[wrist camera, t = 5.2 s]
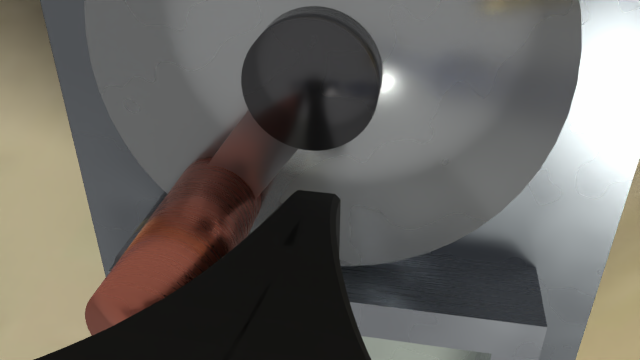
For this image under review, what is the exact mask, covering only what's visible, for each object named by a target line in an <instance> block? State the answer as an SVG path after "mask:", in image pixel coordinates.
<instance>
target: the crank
mask: <svg viewBox="0 0 640 360" xmlns="http://www.w3.org/2000/svg"><path fill="white" fill-rule="evenodd" d="M84 9H85V30H86V38H87V44H88V50H89V56H90V62H91V66H92V69H93V72H94V76H95V79H96V82H97V86H98V89H99V92H100V94H101V97H102V99H103V101H104V104H105V106H106V109H107V111H108V113H109V116H110V118H111V120H112V121H113V123H114V125H115V127H116V129H117V130H118V132H119V134H120V136H121V137H122V139H123V141H124V143H125V144H126V145H127V147H128V148H129V150H130V151H131V153H132V154H133V155H134V157H135V158H136V160H137V161H138V162H139V164H140V165H141V166H142V167H143V169H144V170H145V171H146V172H147V173H148V174H149V175H150V176H151V178H152V179H153V180H154V181H155V182H156V183H157V184H158V186H159V187H161V188H162V189H163V190H164V191H165V192H166V193H167V195H166V197H165V198H164V200H163V201H162V202H161V204H160V205H159V206H158V208H157V209H156V210H155V212H154V213H153V214H152V216H151V217H150V219H149V220H148V221H147V223H146V224H145V225H144V227H143V228H142V229H141V231H140V232H139V233H138V235H137V236H136V238H135V239H134V240H133V242H132V243H131V244H130V246H129V247H128V248H127V250H126V251H125V252H124V254H123V255H122V256H121V258H120V259H119V261H118V262H117V263H116V265H115V266H114V267H113V269H112V270H111V271H110V273H109V274H108V275H107V277H106V278H105V280H104V281H103V282H102V284H101V285H100V286H99V288H98V289H97V290H96V292H95V293H94V294H93V296H92V297H91V299H90V300H89V302H88V303H87V306H86V310H85V319H86V323H87V326H88V329H89V331H90V333H91V335H95V334H97V333H99V332H101V331H103V330H105V329H107V328H110V327H112V326H114V325H116V324H117V323H119V322H121V321H123V320H125V319H127V318H129V317H130V316H132V315H134V314H136V313H138V312H140V311H142V310H144V309H145V308H147V307H149V306H151V305H153V304H155V303H157V302H158V301H160V300H162V299H163V298H165V297H167V296H168V295H170V294H171V293H173V292H174V291H176V290H178V289H179V288H181V287H182V286H184V285H186V284H187V283H189V282H190V281H191V280H193V279H194V278H196V277H197V276H198V275H200V274H201V273H203V272H204V271H205V270H207V269H208V268H209V267H210V266H212V265H213V264H214V263H215V262H217V261H218V260H219V259H221V258H222V257H223V256H224V255H226V254H227V253H228V252H229V251H231V250H232V249H233V248H234V247H236V246H237V245H238V244H239V243H240V242H241V241H242V240H244V239H245V238H246V237H247V236H248V235H249V234H250V233H251V232H253V231H254V230H255V229H256V228H257V227H258V226H259V225H260V224H261V223H263V222H264V221H265V220H266V219H267V218H268V217H269V216H270V215H271V214H272V213H273V212H274V211H275V210H276V209H277V208H278V207H279V206H280V205H281V204H282V203H283V202H284V201H285V200H287V199H288V198H289V197H290V196H291V195H292V194H293V193H294V192H296V191H297V190H303V191H313V192H323V193H332V194H336V195H337V196H338V197H339V198H340V199H341V207H340V247H339V258H340V265H341V266H362V265H377V264H383V263H389V262H395V261H400V260H405V259H408V258H412V257H415V256H419V255H422V254H426V253H429V252H431V251H434V250H436V249H438V248H441V247H443V246H446V245H448V244H450V243H453V242H455V241H457V240H458V239H460V238H462V237H464V236H465V235H467V234H469V233H471V232H473V231H474V230H476V229H478V228H479V227H481V226H482V225H483V224H485V223H486V222H487V221H489V220H490V219H491V218H493V217H494V216H496V215H497V214H498V213H500V212H501V211H502V210H503V209H504V208H505V207H506V206H507V205H508V204H509V203H510V202H511V201H512V200H514V199H515V198H516V197H517V196H518V195H519V194H520V193H521V192H522V191H523V189H524V188H525V187H526V186H527V185H528V183H529V182H530V181H531V180H532V178H533V177H534V176H535V175H536V173H537V172H538V171H539V170H540V168H541V167H542V165H543V163H544V162H545V160H546V159H547V157H548V155H549V154H550V152H551V150H552V149H553V147H554V145H555V144H556V142H557V140H558V137H559V135H560V133H561V130H562V128H563V126H564V124H565V121H566V119H567V117H568V114H569V111H570V108H571V104H572V100H573V97H574V93H575V90H576V86H577V82H578V75H579V67H580V59H581V52H582V26H581V9H580V3H579V0H84Z"/></svg>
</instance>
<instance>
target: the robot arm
mask: <svg viewBox="0 0 640 360" xmlns="http://www.w3.org/2000/svg"><path fill="white" fill-rule="evenodd" d="M340 207H341V199H340V198H339V197H338V196H337V195H336V194H332V193H323V192H313V191H303V190H297V191H296V192H294V193H293V194H292V195H291V196H290V197H289V198H288V199H287V200H285V201H284V202H283V203H282V204H281V205H280V206H279V207H278V208H277V209H276V210H275V211H274V212H273V213H272V214H271V215H270V216H269V217H268V218H267V219H266V220H265V221H264V222H263V223H261V224H260V225H259V226H258V227H257V228H256V229H255V230H254V231H253V232H251V233H250V234H249V235H248V236H247V237H246V238H245V239H244V240H242V241H241V242H240V243H239V244H238V245H237V246H236V247H234V248H233V249H232V250H231V251H229V252H228V253H227V254H226V255H224V256H223V257H222V258H221V259H219V260H218V261H217V262H215V263H214V264H213V265H212V266H210V267H209V268H208V269H207V270H205V271H204V272H203V273H201V274H200V275H198V276H197V277H196V278H194V279H193V280H191V281H190V282H189V283H187V284H186V285H184V286H182V287H181V288H179V289H178V290H176V291H174V292H173V293H171V294H170V295H168V296H167V297H165V298H163V299H162V300H160V301H158V302H157V303H155V304H153V305H151V306H149V307H147V308H145V309H144V310H142V311H140V312H138V313H136V314H134V315H132V316H130V317H129V318H127V319H125V320H123V321H121V322H119V323H117V324H116V325H114V326H112V327H110V328H107V329H105V330H103V331H101V332H99V333H97V334H95V335H92V336H90V337H88V338H86V339H84V340H81V341H79V342H77V343H74V344H72V345H70V346H67V347H65V348H62V349H60V350H58V351H55V352H53V353H50V354H48V355H45V356H43V357H40V358H37V359H34V360H371V358H370V356H369V353H368V351H367V349H366V346H365V344H364V341H363V339H362V336H361V334H360V331H359V329H358V326H357V323H356V320H355V317H354V314H353V311H352V308H351V305H350V302H349V298H348V295H347V291H346V287H345V283H344V279H343V274H342V270H341V265H340V258H339V247H340Z"/></svg>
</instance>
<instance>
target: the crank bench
mask: <svg viewBox="0 0 640 360" xmlns="http://www.w3.org/2000/svg"><path fill="white" fill-rule="evenodd" d="M40 2H41V6H42V10H43V15H44V19H45V23H46V27H47V31H48V36H49V40H50V44H51V48H52V52H53V57H54V61H55V65H56V69H57V73H58V78H59V82H60V86H61V90H62V94H63V99H64V103H65V107H66V111H67V116H68V120H69V124H70V128H71V132H72V137H73V141H74V145H75V149H76V153H77V158H78V162H79V166H80V170H81V174H82V179H83V183H84V187H85V191H86V195H87V200H88V204H89V208H90V212H91V216H92V221H93V225H94V229H95V233H96V237H97V242H98V246H99V250H100V254H101V259H102V263H103V267H104V271H105V275H106V277H107V275H108V274H109V273H110V271H111V270H112V269H113V267H114V266H115V265H116V263H117V262H118V261H119V259H120V258H121V256H122V255H123V254H124V252H125V251H126V250H127V248H128V247H129V246H130V244H131V243H132V242H133V240H134V239H135V238H136V236H137V235H138V233H139V232H140V231H141V229H142V228H143V227H144V225H145V224H146V223H147V221H148V220H149V219H150V217H151V216H152V214H153V213H154V212H155V210H156V209H157V208H158V206H159V205H160V204H161V202H162V201H163V200H164V198H165V197H166V195H167V193H166V192H165V191H164V190H163V189H162V188H161V187H159V186H158V184H157V183H156V182H155V181H154V180H153V179H152V178H151V176H150V175H149V174H148V173H147V172H146V171H145V170H144V169H143V167H142V166H141V165H140V164H139V162H138V161H137V160H136V158H135V157H134V155H133V154H132V153H131V151H130V150H129V148H128V147H127V145H126V144H125V143H124V141H123V139H122V137H121V136H120V134H119V132H118V130H117V129H116V127H115V125H114V123H113V121H112V120H111V118H110V116H109V113H108V111H107V109H106V106H105V104H104V101H103V99H102V97H101V94H100V92H99V89H98V86H97V82H96V79H95V76H94V72H93V69H92V66H91V62H90V56H89V50H88V44H87V38H86V30H85V9H84V0H40ZM579 3H580V9H581V26H582V52H581V59H580V67H579V75H578V82H577V86H576V90H575V93H574V97H573V100H572V104H571V108H570V111H569V114H568V117H567V119H566V121H565V124H564V126H563V128H562V130H561V133H560V135H559V137H558V140H557V142H556V144H555V145H554V147H553V149H552V150H551V152H550V154H549V155H548V157H547V159H546V160H545V162H544V163H543V165H542V167H541V168H540V170H539V171H538V172H537V173H536V175H535V176H534V177H533V178H532V180H531V181H530V182H529V183H528V185H527V186H526V187H525V188H524V189H523V191H522V192H521V193H520V194H519V195H518V196H517V197H516V198H515V199H514V200H512V201H511V202H510V203H509V204H508V205H507V206H506V207H505V208H504V209H503V210H502V211H501V212H500V213H498V214H497V215H496V216H494V217H493V218H491V219H490V220H489V221H487V222H486V223H485V224H483V225H482V226H481V227H479V228H478V229H476V230H474V231H473V232H471V233H469V234H467V235H465V236H464V237H462V238H460V239H458V240H457V241H455V242H453V243H450V244H448V245H446V246H443V247H441V248H438V249H436V250H434V251H431V252H429V253H426V254H422V255H419V256H415V257H412V258H408V259H405V260H400V261H395V262H389V263H383V264H377V265H362V266H341V270H342V274H343V279H344V283H345V287H346V291H347V295H348V298H349V302H350V305H351V308H352V311H353V314H354V317H355V320H356V323H357V326H358V329H359V331H360V334H361V336H362V339H363V341H364V344H365V346H366V349H367V351H368V353H369V356H370V358H371V360H575V359H576V356H577V353H578V350H579V346H580V343H581V340H582V337H583V334H584V331H585V328H586V324H587V321H588V318H589V315H590V312H591V309H592V306H593V302H594V299H595V296H596V293H597V290H598V287H599V284H600V280H601V277H602V274H603V271H604V268H605V265H606V262H607V258H608V255H609V252H610V249H611V246H612V243H613V240H614V236H615V233H616V230H617V227H618V224H619V221H620V218H621V214H622V211H623V208H624V205H625V202H626V199H627V196H628V192H629V189H630V186H631V183H632V180H633V177H634V174H635V170H636V167H637V164H638V161H639V158H640V0H579Z"/></svg>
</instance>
